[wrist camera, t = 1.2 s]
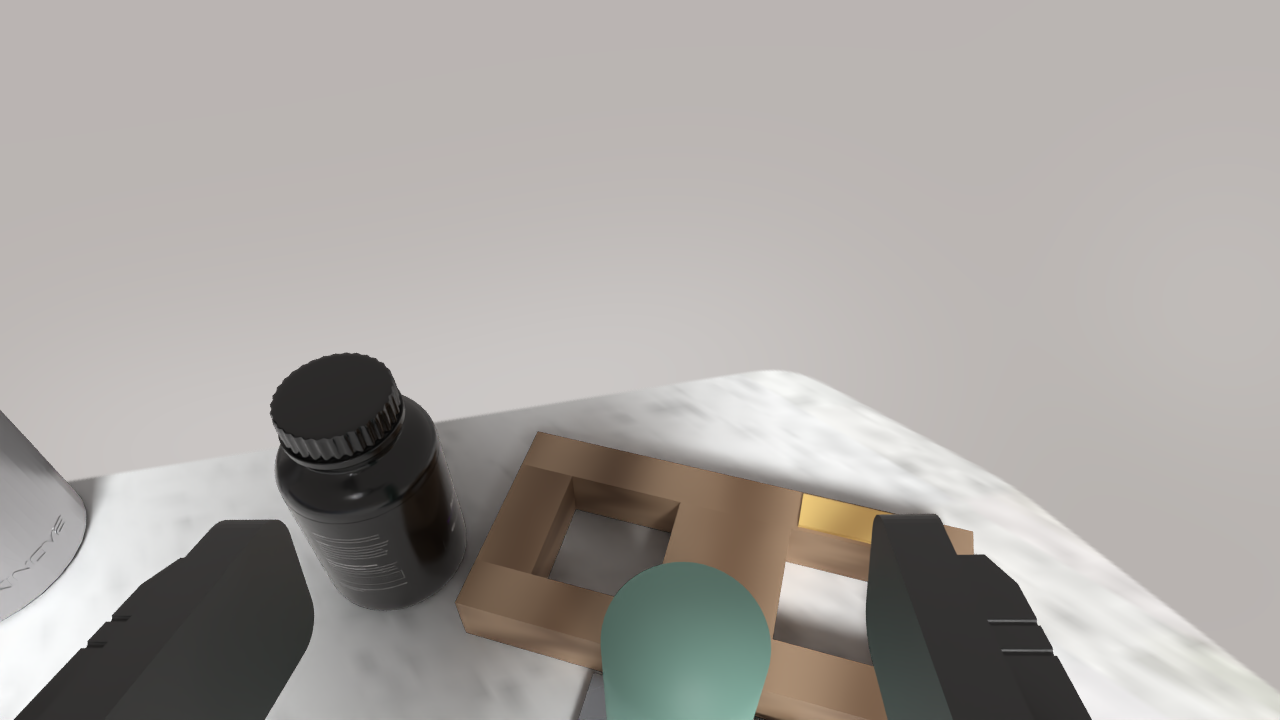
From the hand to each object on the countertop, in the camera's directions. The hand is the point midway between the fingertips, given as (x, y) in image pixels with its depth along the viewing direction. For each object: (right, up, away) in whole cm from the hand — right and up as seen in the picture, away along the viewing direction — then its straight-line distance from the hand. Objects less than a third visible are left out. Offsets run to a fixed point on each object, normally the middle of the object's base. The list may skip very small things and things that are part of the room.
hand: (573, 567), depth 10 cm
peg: (+2, -15, +19) cm, 24 cm away
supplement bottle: (-11, -7, +28) cm, 31 cm away
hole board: (+5, -9, +26) cm, 28 cm away
